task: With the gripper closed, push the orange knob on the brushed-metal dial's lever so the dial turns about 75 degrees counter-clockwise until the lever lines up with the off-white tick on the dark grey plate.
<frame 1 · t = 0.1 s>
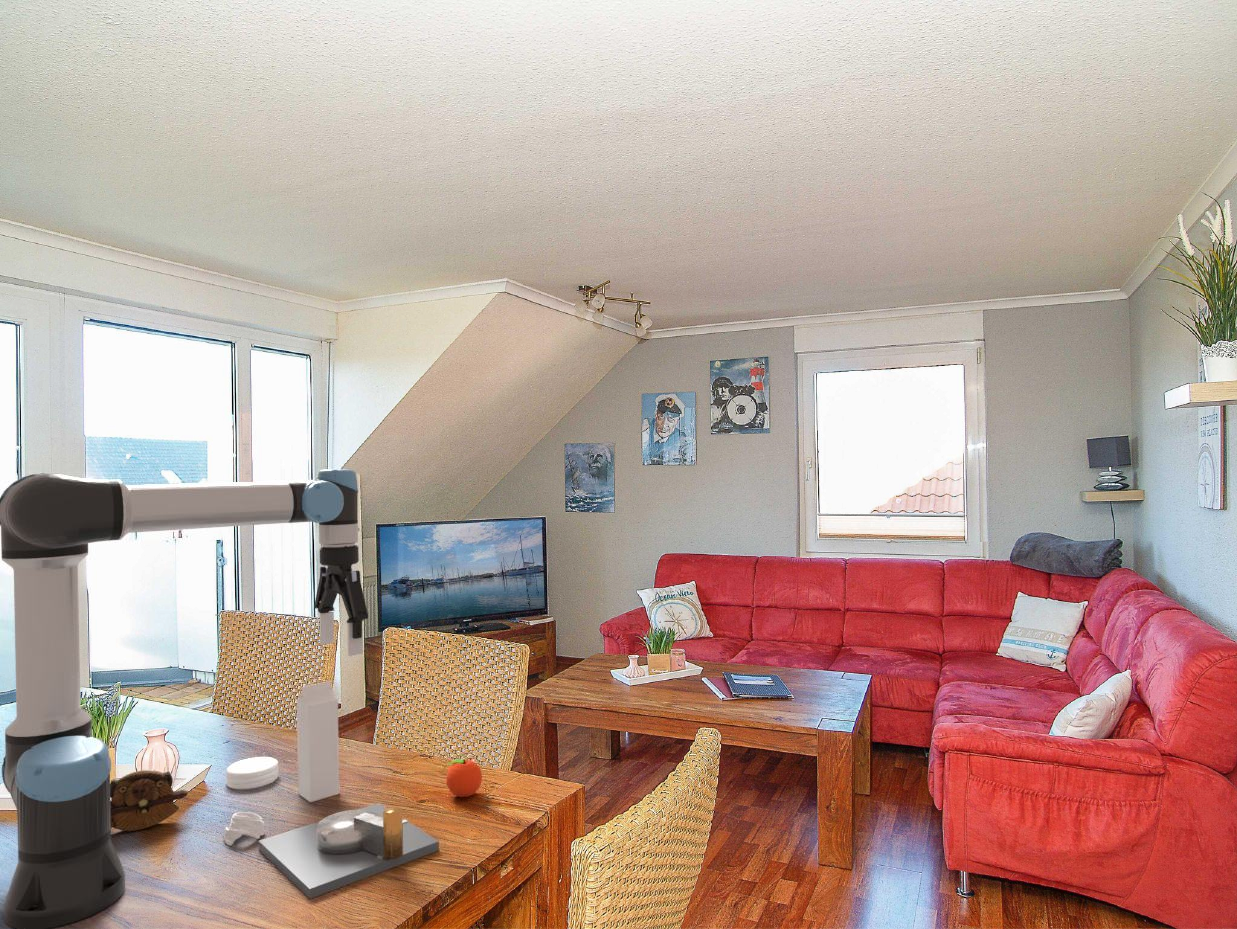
hand: (340, 649, 166), 28 cm above the table, tool pointing down, fingers open, 13 cm apart
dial: (362, 823, 137), point 5 cm above the table, hinge at -75.0°
wooden carving: (138, 830, 148), on the table
clementine: (462, 796, 161), on the table
whipped cream: (244, 838, 144), on the table
plate: (348, 849, 139), on the table
milk: (318, 794, 162), on the table
round white tin: (252, 782, 170), on the table
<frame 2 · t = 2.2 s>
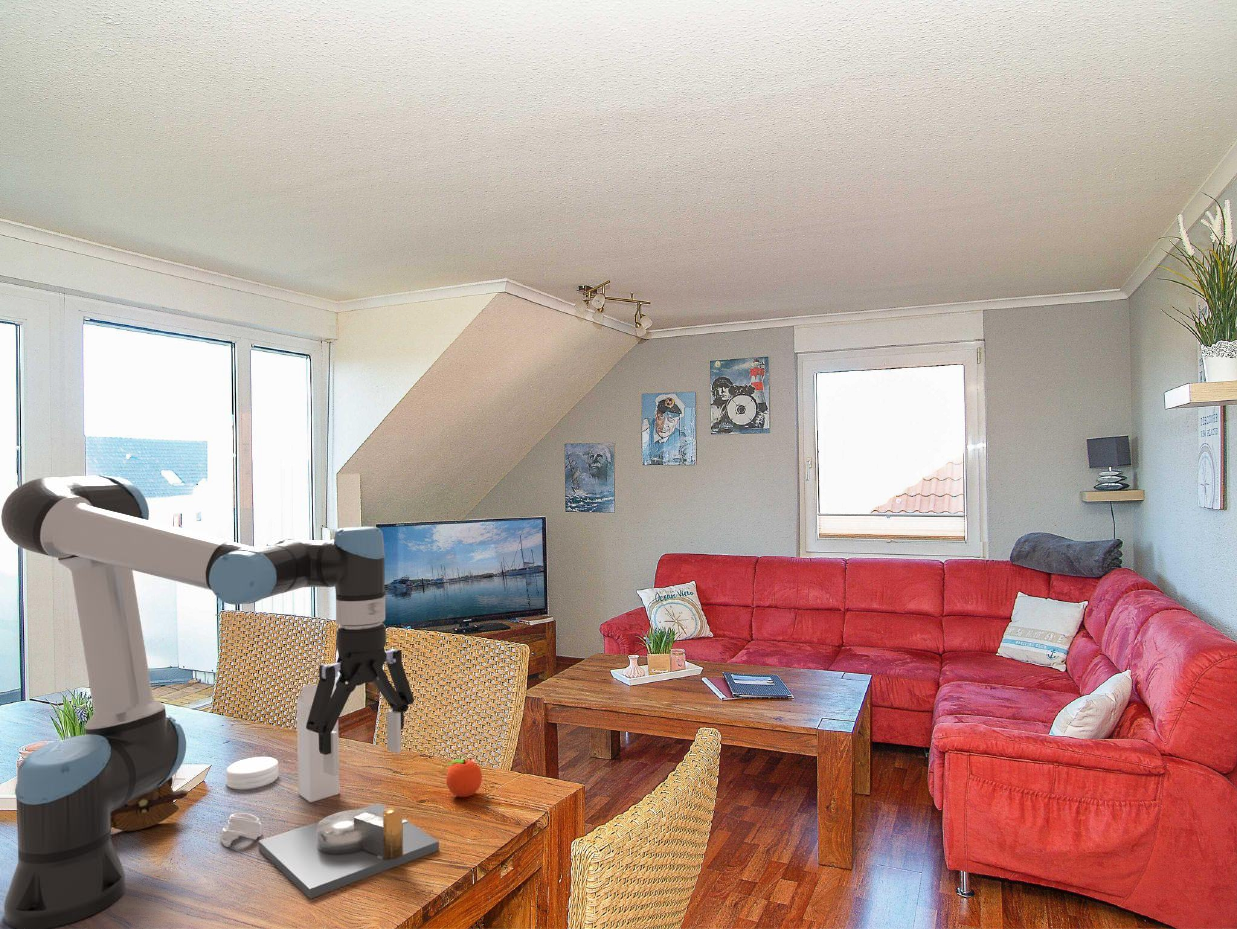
hand: (363, 761, 130), 18 cm above the table, tool pointing down, fingers open, 11 cm apart
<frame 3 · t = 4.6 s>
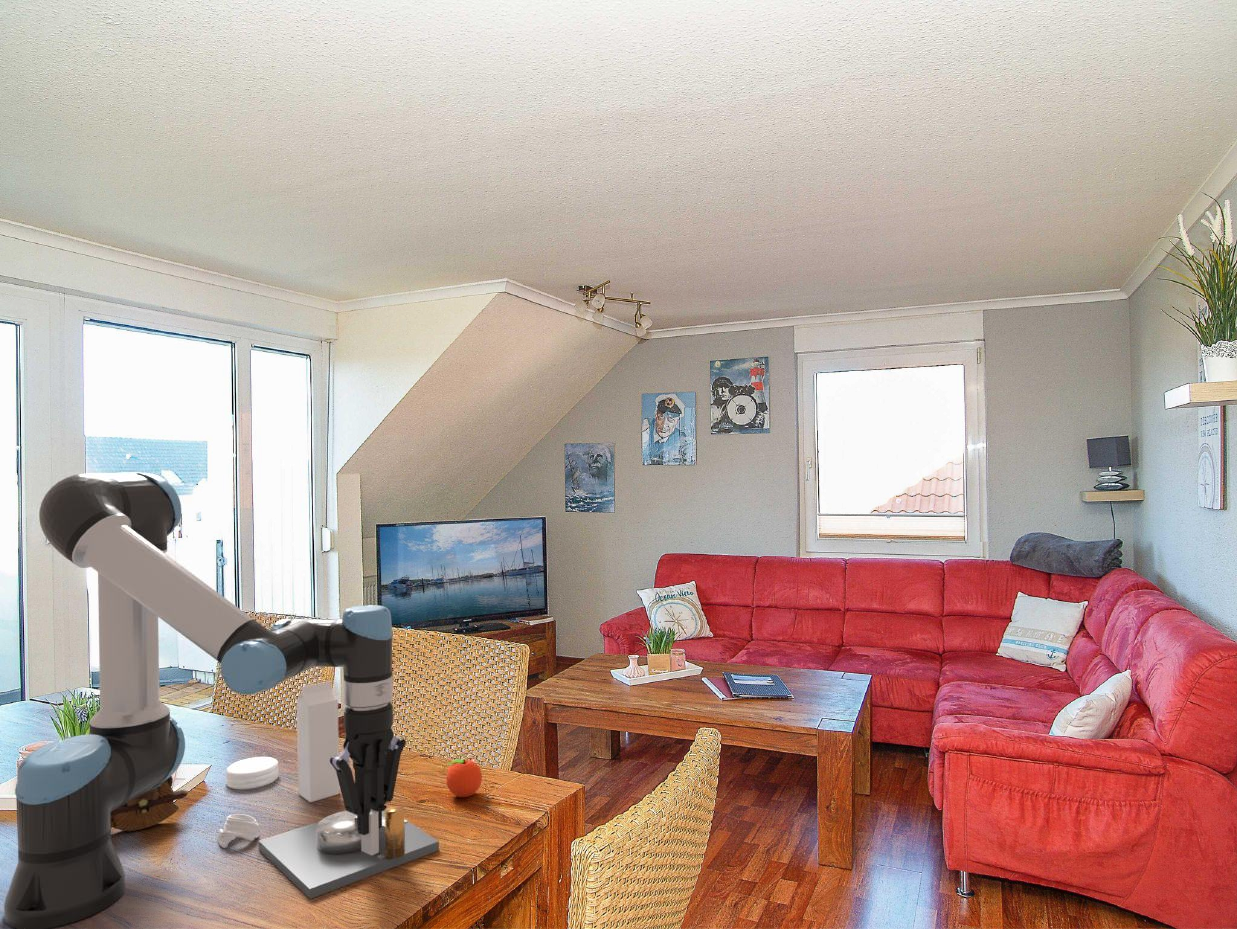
hand: (370, 851, 130), 4 cm above the table, tool pointing down, fingers closed
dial: (363, 822, 137), point 5 cm above the table, hinge at -72.7°, touching gripper
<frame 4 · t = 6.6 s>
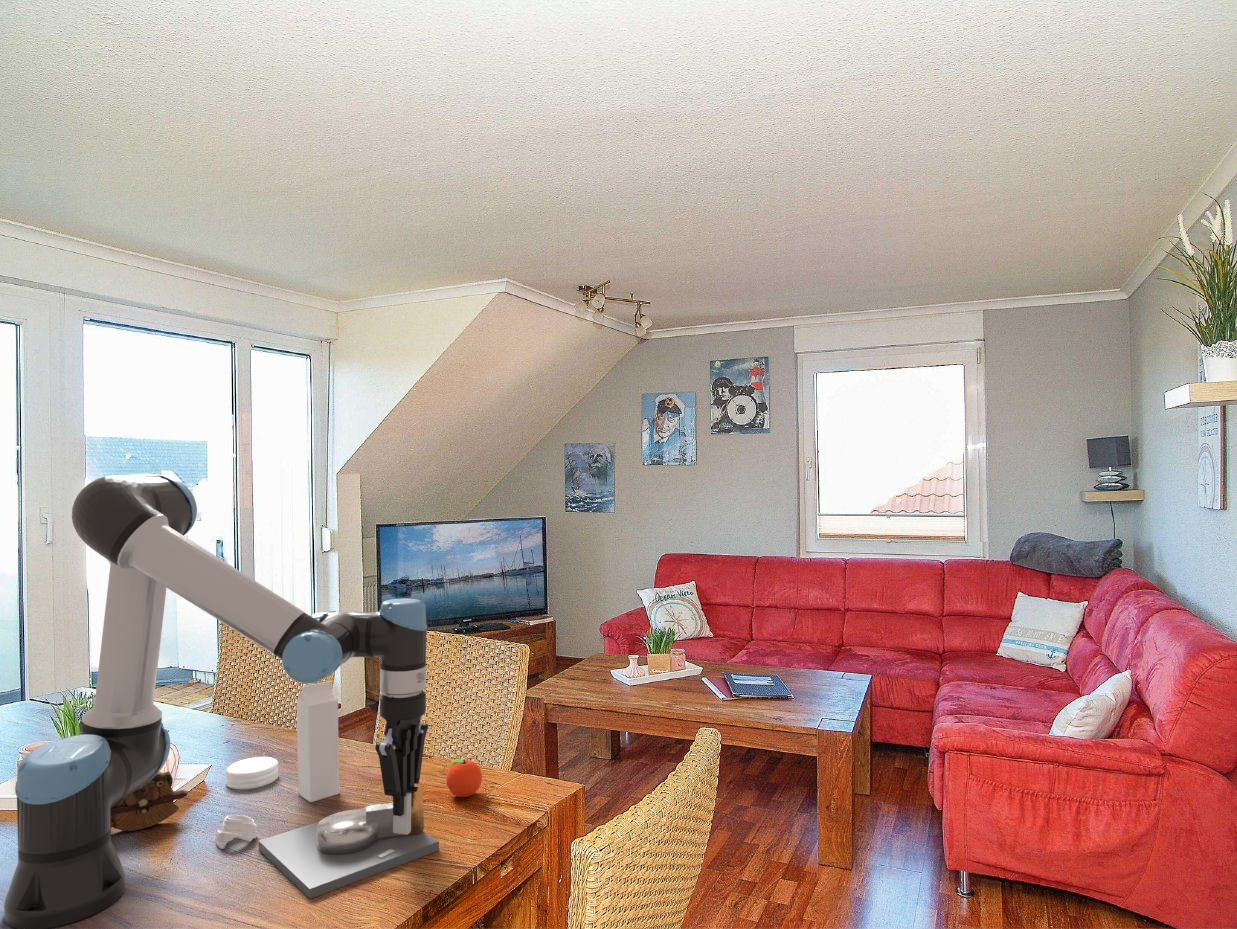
hand: (402, 832, 137), 3 cm above the table, tool pointing down, fingers closed
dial: (370, 815, 140), point 5 cm above the table, hinge at -26.6°, touching gripper
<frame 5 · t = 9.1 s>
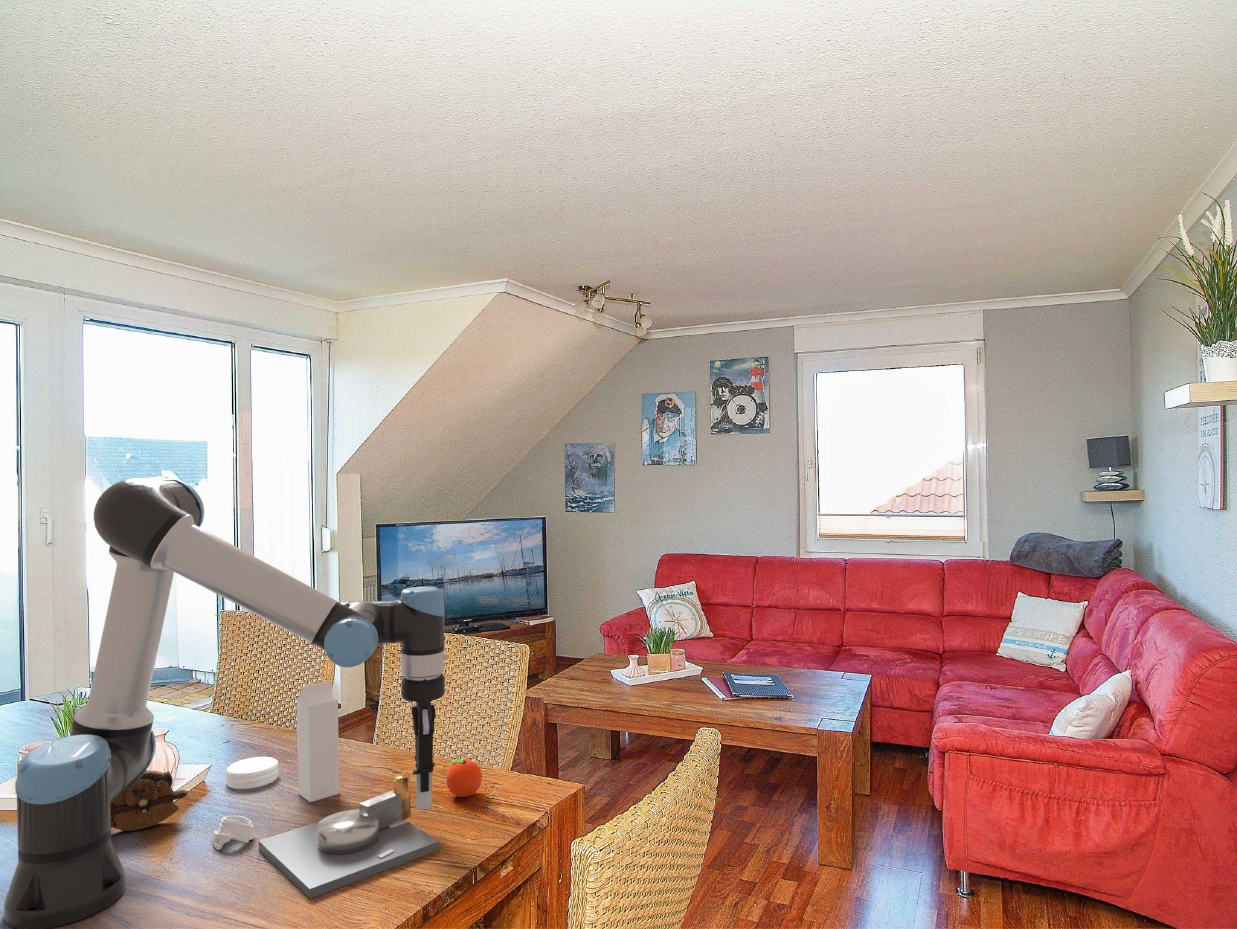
hand: (424, 807, 145), 4 cm above the table, tool pointing down, fingers closed
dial: (367, 810, 141), point 5 cm above the table, hinge at 8.7°
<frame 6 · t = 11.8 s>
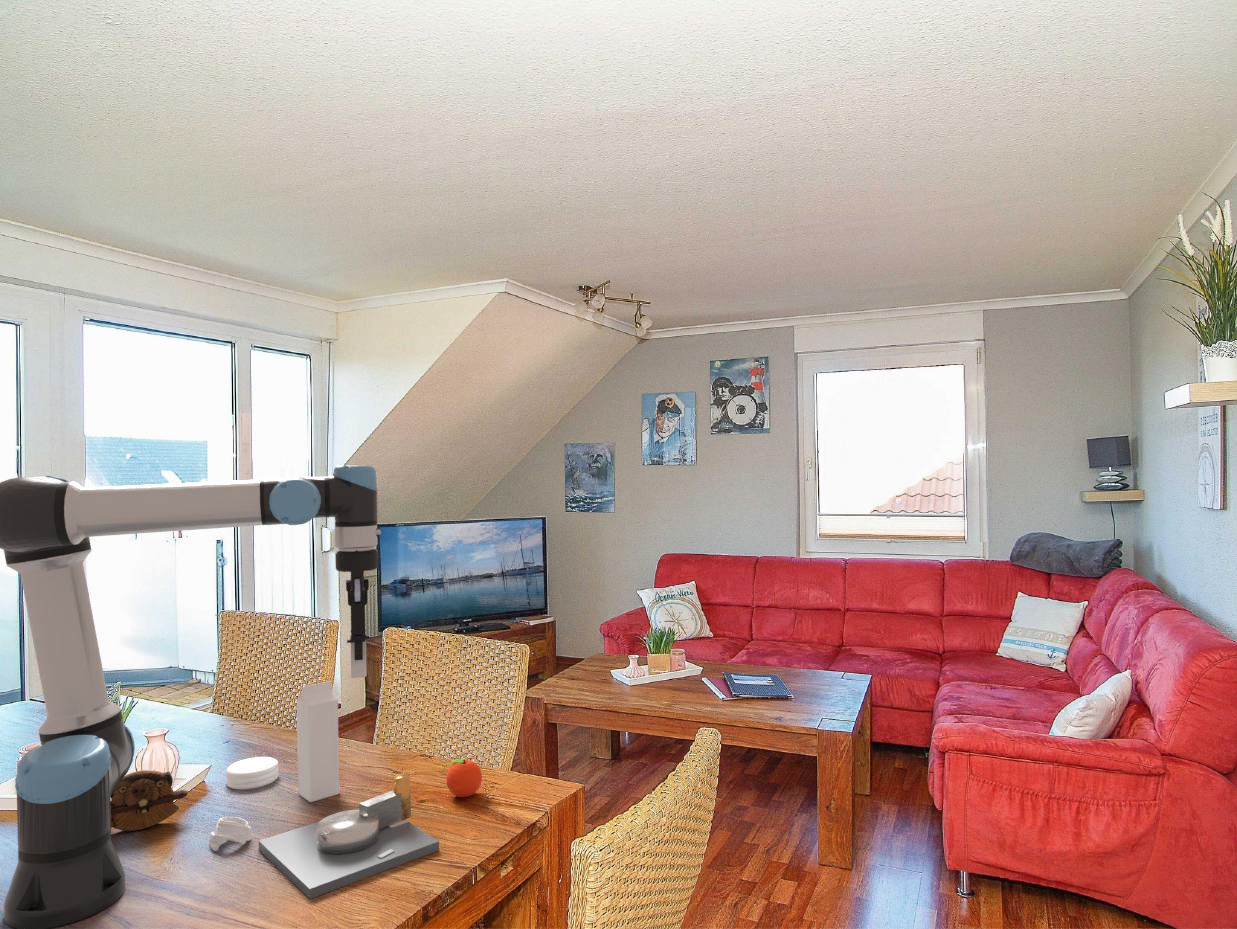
hand: (358, 676, 151), 26 cm above the table, tool pointing down, fingers closed
at the end: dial at +9° (first picture: -75°) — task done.
